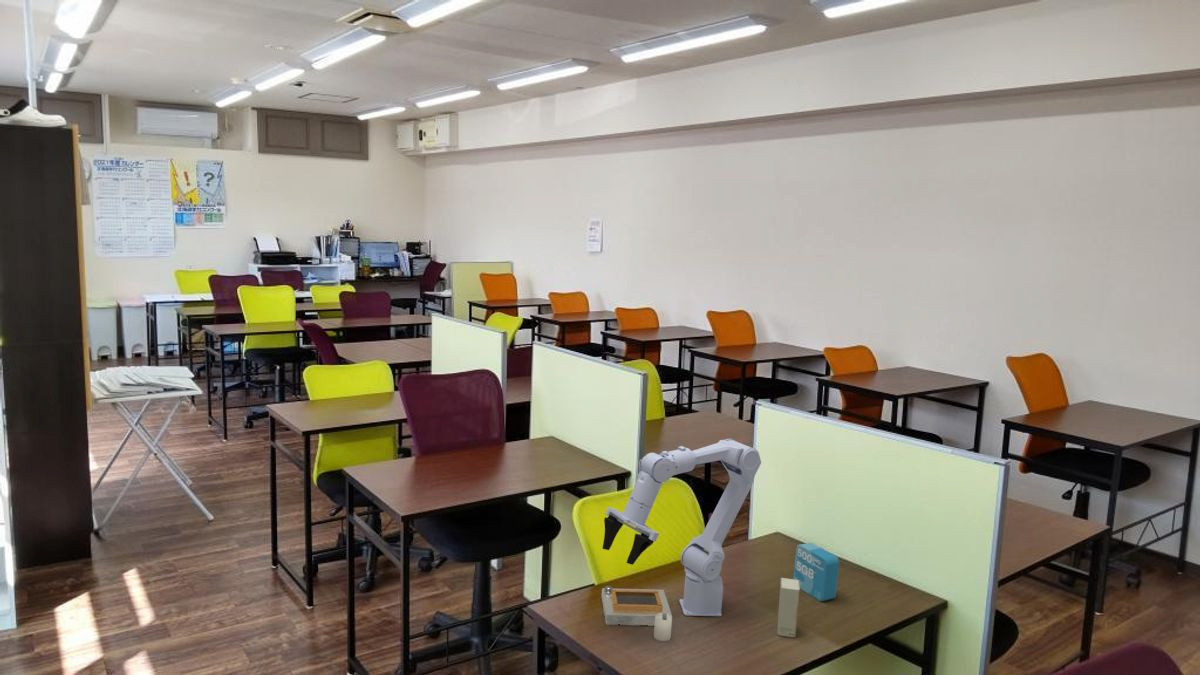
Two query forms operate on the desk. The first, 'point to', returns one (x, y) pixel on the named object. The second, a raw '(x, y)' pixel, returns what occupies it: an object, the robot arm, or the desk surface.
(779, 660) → the desk surface
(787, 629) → the skincare box
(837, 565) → the data package
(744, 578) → the desk surface
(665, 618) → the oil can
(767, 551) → the desk surface
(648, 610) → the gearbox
